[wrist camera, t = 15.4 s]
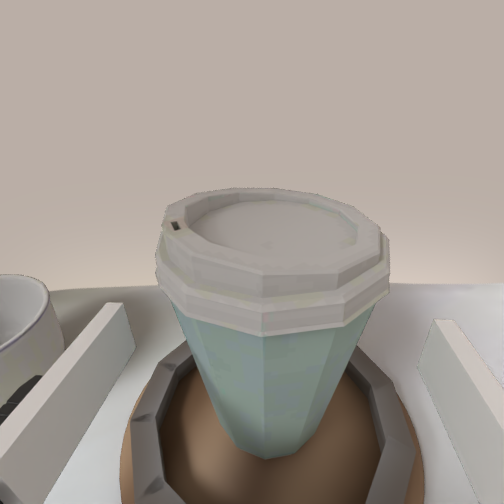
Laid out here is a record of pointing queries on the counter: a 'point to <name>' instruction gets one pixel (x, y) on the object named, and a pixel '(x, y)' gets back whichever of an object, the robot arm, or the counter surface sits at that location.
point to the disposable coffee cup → (271, 303)
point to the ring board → (275, 469)
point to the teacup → (26, 332)
